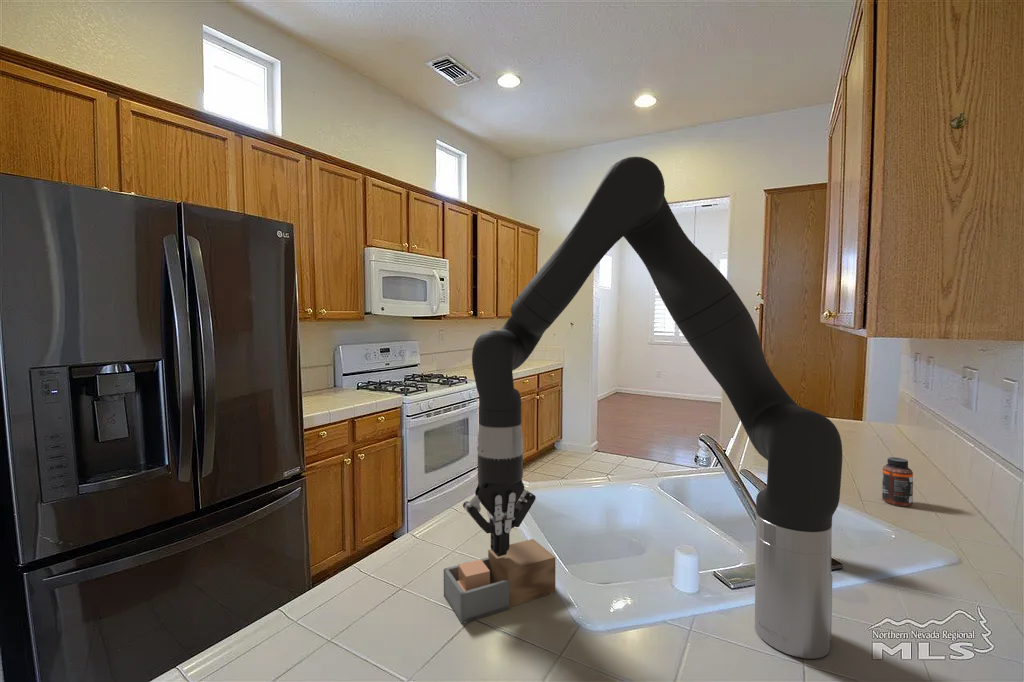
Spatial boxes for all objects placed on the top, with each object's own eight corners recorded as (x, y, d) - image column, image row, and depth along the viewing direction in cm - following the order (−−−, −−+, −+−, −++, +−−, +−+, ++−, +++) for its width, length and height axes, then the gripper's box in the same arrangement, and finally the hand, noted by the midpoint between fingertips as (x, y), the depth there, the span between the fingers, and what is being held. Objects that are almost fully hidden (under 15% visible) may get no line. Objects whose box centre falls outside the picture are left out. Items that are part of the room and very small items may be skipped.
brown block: (533, 571, 83) (533, 538, 83) (555, 592, 76) (555, 557, 76) (488, 583, 79) (488, 549, 79) (507, 607, 72) (507, 570, 72)
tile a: (481, 574, 76) (481, 559, 76) (489, 586, 73) (489, 571, 72) (458, 579, 75) (458, 564, 75) (466, 592, 71) (466, 576, 71)
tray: (487, 583, 79) (487, 557, 79) (509, 609, 72) (509, 581, 72) (443, 595, 75) (443, 568, 75) (461, 624, 68) (461, 594, 68)
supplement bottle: (919, 507, 113) (920, 462, 112) (894, 507, 113) (895, 462, 113) (899, 498, 119) (900, 455, 118) (876, 498, 119) (876, 455, 118)
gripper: (471, 461, 69) (471, 574, 69) (546, 451, 75) (545, 554, 75) (454, 450, 75) (454, 552, 76) (524, 441, 82) (523, 536, 82)
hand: (500, 553), depth 76 cm, fingers closed
